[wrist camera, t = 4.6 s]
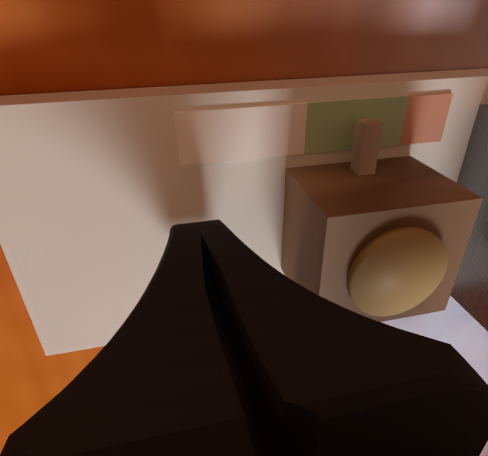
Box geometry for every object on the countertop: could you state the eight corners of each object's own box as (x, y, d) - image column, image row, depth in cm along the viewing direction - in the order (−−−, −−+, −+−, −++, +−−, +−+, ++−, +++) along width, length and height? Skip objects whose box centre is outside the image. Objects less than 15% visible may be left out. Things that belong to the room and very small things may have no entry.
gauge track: (499, 67, 12) (534, 73, 11) (438, 267, 16) (459, 286, 15) (-34, 97, 9) (-57, 110, 8) (53, 329, 14) (45, 358, 12)
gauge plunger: (420, 109, 11) (513, 145, 8) (389, 252, 14) (451, 317, 11) (287, 119, 10) (340, 162, 8) (281, 268, 13) (319, 342, 10)
